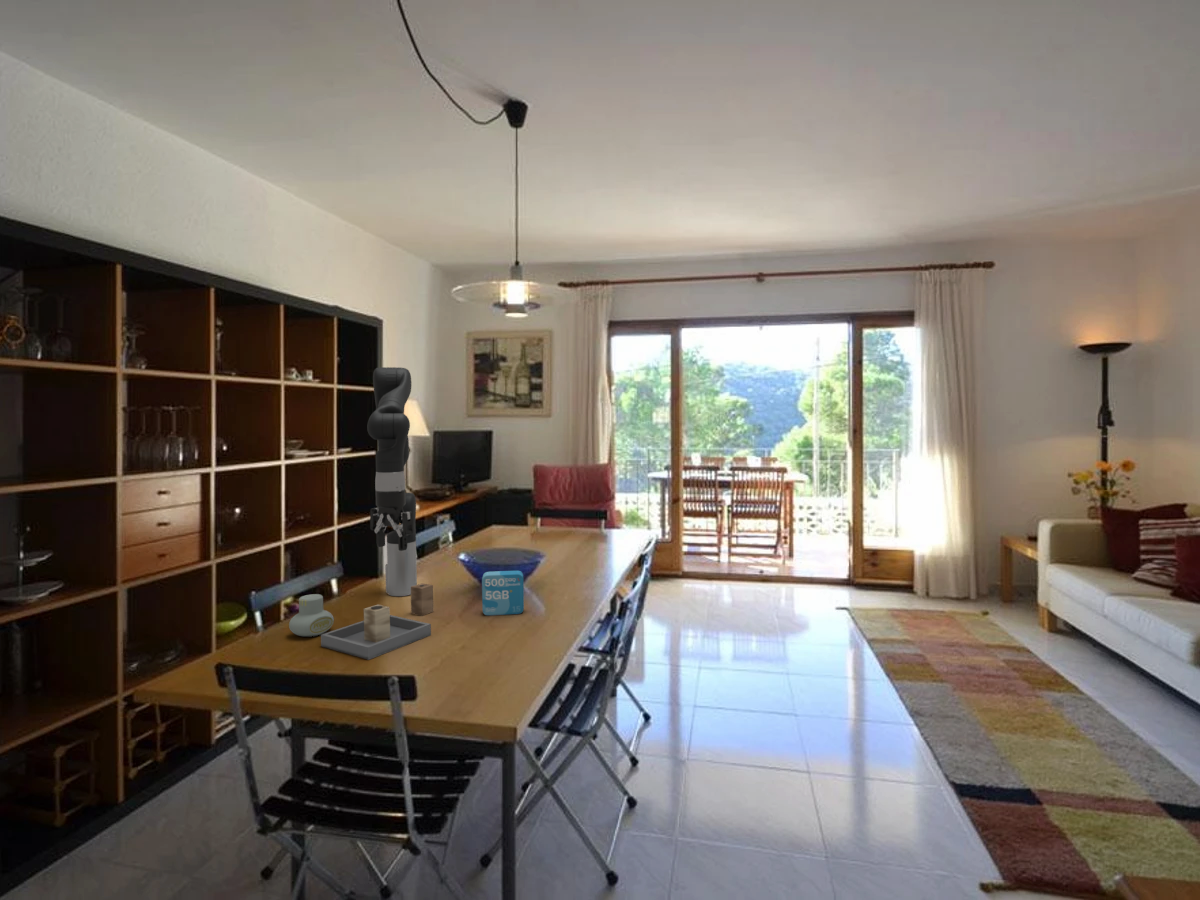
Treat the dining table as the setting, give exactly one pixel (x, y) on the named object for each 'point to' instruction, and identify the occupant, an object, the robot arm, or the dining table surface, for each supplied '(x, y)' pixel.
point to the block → (376, 623)
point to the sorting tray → (356, 645)
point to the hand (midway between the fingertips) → (391, 548)
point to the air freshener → (311, 617)
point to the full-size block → (421, 599)
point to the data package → (502, 593)
